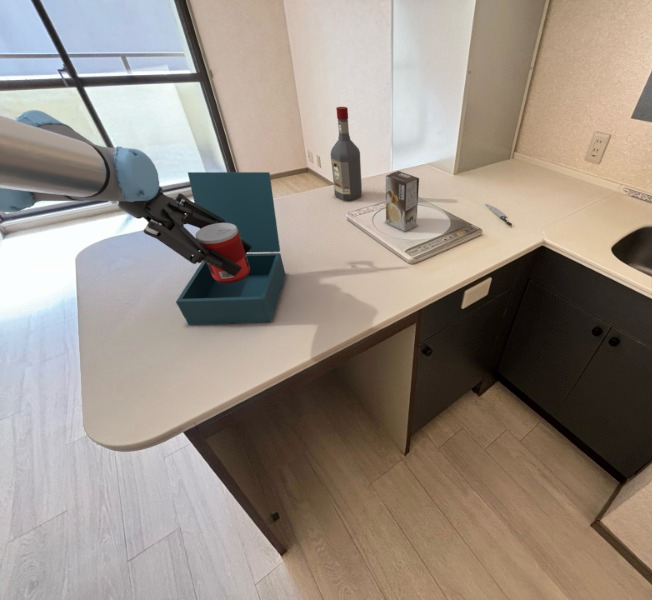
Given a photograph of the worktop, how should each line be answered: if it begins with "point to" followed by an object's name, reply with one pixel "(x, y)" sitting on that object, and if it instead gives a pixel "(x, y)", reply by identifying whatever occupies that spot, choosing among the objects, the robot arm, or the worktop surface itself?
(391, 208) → the coffee box
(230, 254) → the canned food
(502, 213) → the chef's knife
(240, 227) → the cooler lid
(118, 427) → the worktop surface
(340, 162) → the liquor
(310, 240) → the worktop surface
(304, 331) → the worktop surface
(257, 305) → the cool box
